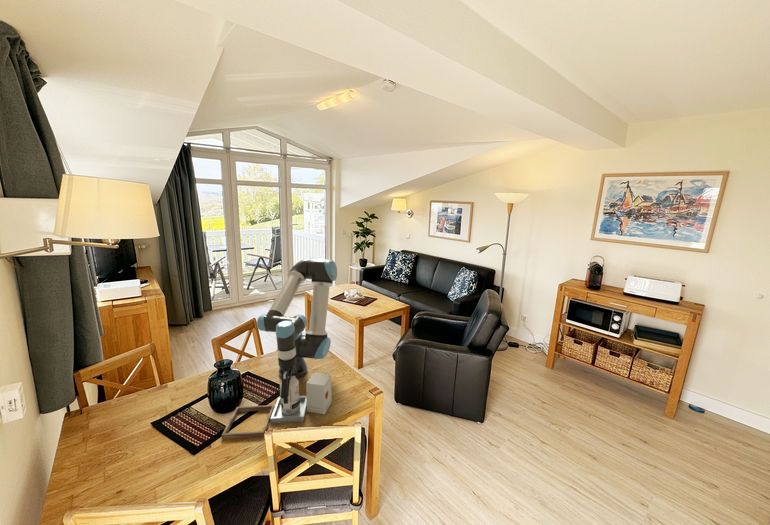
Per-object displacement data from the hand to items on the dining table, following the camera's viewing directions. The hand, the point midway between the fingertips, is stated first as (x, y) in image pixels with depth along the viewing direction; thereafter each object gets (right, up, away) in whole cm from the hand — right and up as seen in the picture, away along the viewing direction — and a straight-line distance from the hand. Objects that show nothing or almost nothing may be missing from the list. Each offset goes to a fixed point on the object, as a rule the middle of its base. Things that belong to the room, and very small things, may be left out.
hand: (290, 398), depth 138 cm
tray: (0, -7, +1) cm, 7 cm away
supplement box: (+13, -6, +5) cm, 15 cm away
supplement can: (0, -6, +1) cm, 6 cm away
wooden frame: (-15, -8, -6) cm, 19 cm away
